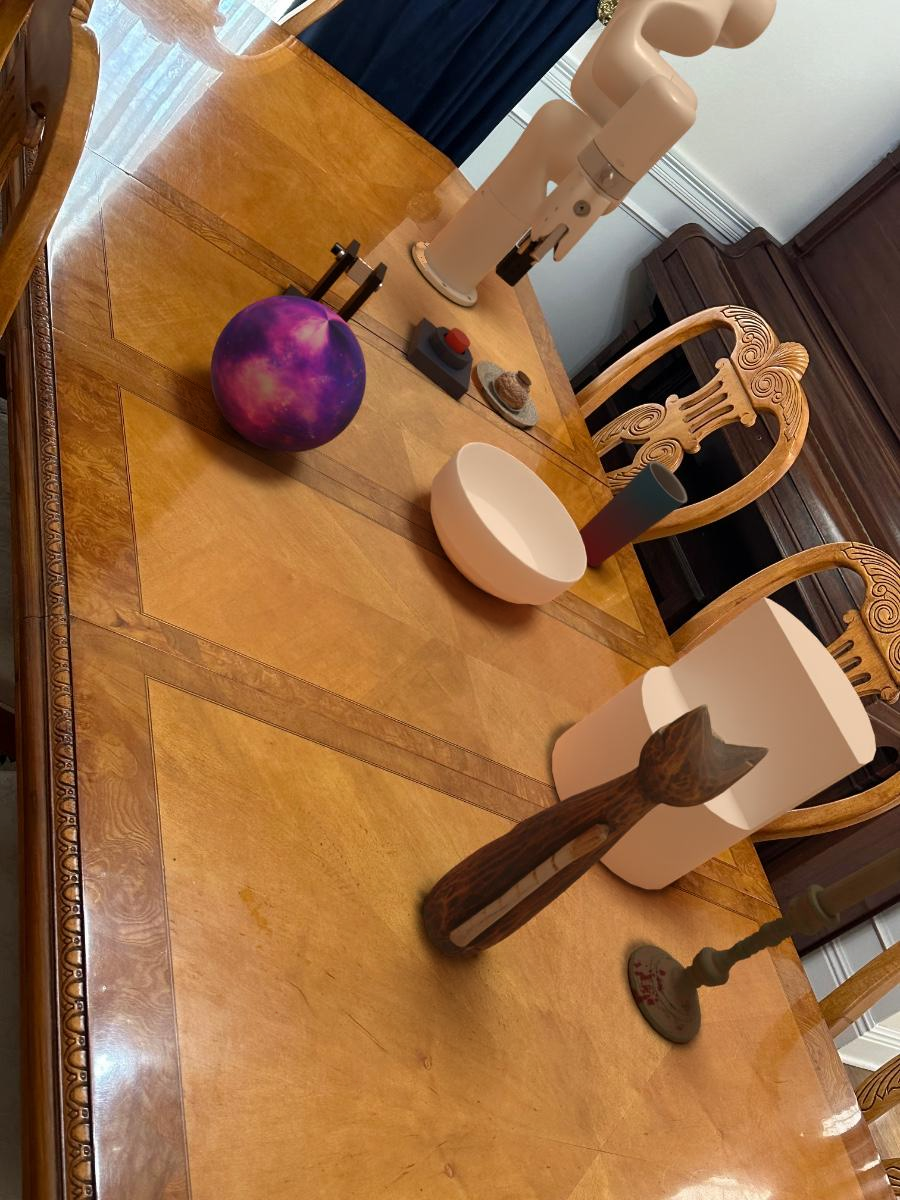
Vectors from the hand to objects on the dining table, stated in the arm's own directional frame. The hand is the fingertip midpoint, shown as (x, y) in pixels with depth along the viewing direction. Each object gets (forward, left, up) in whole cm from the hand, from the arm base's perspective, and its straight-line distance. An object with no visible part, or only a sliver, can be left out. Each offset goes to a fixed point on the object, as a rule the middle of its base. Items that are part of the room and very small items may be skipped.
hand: (503, 277), depth 152 cm
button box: (+1, +1, -15) cm, 15 cm away
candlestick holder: (+81, +38, -15) cm, 91 cm away
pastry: (-5, +13, -15) cm, 21 cm away
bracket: (+18, -17, -15) cm, 29 cm away
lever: (+14, -17, -8) cm, 23 cm away
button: (+1, +1, -11) cm, 11 cm away
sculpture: (+87, +13, -15) cm, 89 cm away
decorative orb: (+44, -19, -15) cm, 50 cm away
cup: (+18, +29, -15) cm, 37 cm away
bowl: (+37, +11, -15) cm, 42 cm away
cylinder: (+61, +33, -15) cm, 71 cm away
